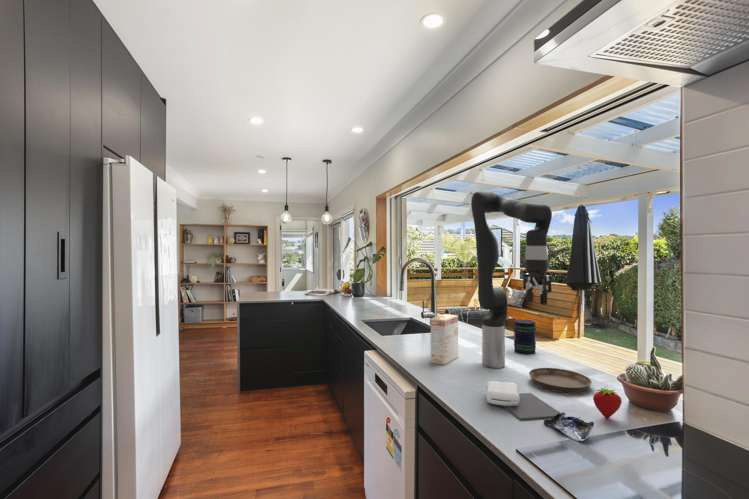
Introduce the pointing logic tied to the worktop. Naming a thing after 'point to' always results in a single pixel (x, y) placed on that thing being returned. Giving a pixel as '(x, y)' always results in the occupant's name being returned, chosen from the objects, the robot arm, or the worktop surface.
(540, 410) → the mat
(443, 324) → the coffeecake box
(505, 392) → the photo printer
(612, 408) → the strawberry
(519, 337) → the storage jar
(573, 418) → the snack package
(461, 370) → the worktop surface
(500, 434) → the worktop surface
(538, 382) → the plant saucer
